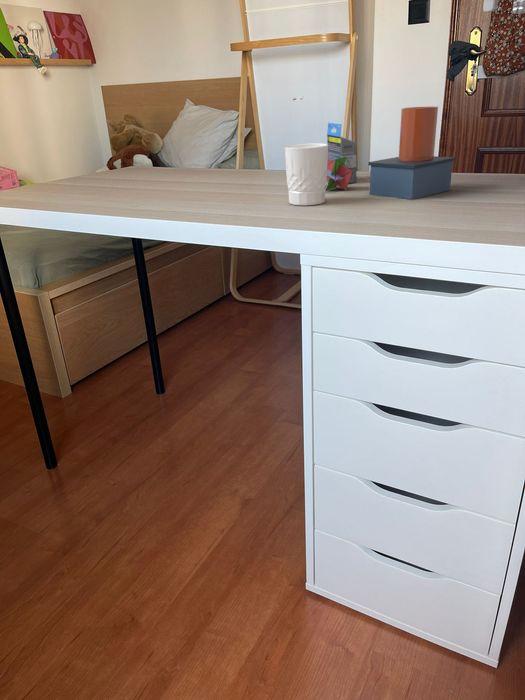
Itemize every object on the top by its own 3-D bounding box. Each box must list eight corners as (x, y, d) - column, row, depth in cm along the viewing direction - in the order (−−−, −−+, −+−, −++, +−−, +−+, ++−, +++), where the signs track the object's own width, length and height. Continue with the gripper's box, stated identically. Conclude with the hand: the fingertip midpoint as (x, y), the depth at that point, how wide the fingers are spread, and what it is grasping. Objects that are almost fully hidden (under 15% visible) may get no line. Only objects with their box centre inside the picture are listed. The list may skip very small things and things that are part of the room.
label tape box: (357, 183, 116) (358, 122, 111) (339, 184, 115) (340, 123, 110) (342, 177, 124) (343, 121, 118) (326, 179, 123) (326, 122, 118)
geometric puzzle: (367, 177, 108) (347, 144, 108) (349, 182, 103) (329, 147, 103) (342, 197, 113) (323, 165, 113) (325, 203, 108) (305, 169, 108)
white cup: (335, 203, 97) (336, 145, 92) (296, 208, 94) (295, 148, 90) (316, 196, 103) (315, 142, 99) (279, 201, 101) (277, 146, 97)
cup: (416, 156, 104) (420, 106, 100) (440, 158, 99) (445, 106, 95) (391, 159, 102) (394, 108, 98) (415, 162, 97) (419, 108, 93)
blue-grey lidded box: (407, 185, 110) (409, 154, 107) (452, 190, 103) (455, 157, 100) (367, 194, 103) (368, 162, 101) (412, 200, 96) (414, 165, 93)
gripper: (531, -77, 92) (518, 17, 98) (464, -94, 81) (454, 12, 87) (568, -87, 87) (552, 12, 93) (503, -107, 76) (490, 6, 82)
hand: (504, 12), depth 90 cm, fingers open, 8 cm apart
